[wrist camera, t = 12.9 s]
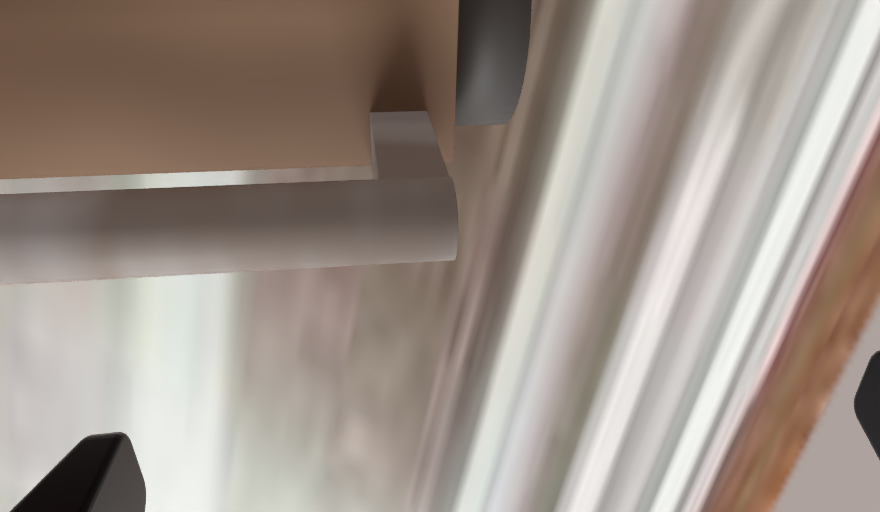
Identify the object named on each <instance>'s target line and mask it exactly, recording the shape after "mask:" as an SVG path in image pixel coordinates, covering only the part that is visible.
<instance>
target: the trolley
mask: <svg viewBox="0 0 880 512" xmlns="http://www.w3.org/2000/svg"><path fill="white" fill-rule="evenodd" d="M531 1H532V0H0V179H19V178H45V177H72V176H99V175H125V174H152V173H179V172H205V171H232V170H259V169H285V168H312V167H339V166H365V165H372V172H373V180H349V181H325V182H300V183H275V184H250V185H225V186H200V187H175V188H150V189H125V190H100V191H75V192H50V193H25V194H0V285H10V284H29V283H47V282H65V281H83V280H101V279H119V278H138V277H156V276H174V275H192V274H210V273H229V272H247V271H265V270H283V269H301V268H320V267H338V266H356V265H374V264H392V263H411V262H429V261H447V260H455V258H456V255H457V248H458V211H457V200H456V193H455V187H454V183H453V180H452V178H451V177H450V176H449V175H448V172H447V169H446V166H445V162H453V161H454V132H455V126H464V125H497V124H505V123H507V122H508V121H509V120H510V119H511V117H512V115H513V114H514V111H515V109H516V107H517V104H518V100H519V97H520V93H521V89H522V85H523V80H524V75H525V69H526V62H527V55H528V46H529V37H530V23H531Z"/></svg>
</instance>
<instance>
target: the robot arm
mask: <svg viewBox="0 0 880 512" xmlns="http://www.w3.org/2000/svg"><path fill="white" fill-rule="evenodd" d="M854 410H855V413H856V416H857V419H858V421H859V422H860V424H861V426H862V428H863V430H864V432H865V434H866V436H867V437H868V439H869V441H870V443H871V445H872V446H873V448H874V450H875V452H876V454H877V456H878V458H879V460H880V351H877V352H876V353H875V354H874V355H873V356H872V357H871V359H870V360H869V363H868V365H867V368H866V370H865V373H864V375H863V377H862V380H861V382H860V385H859V387H858V390H857V392H856V395H855V398H854ZM145 505H146V488H145V482H144V478H143V475H142V473H141V470H140V467H139V464H138V461H137V458H136V455H135V452H134V449H133V446H132V443H131V441H130V439H129V437H128V436H127V435H126V434H125V433H122V432H114V433H105V434H96V435H90V436H87V437H85V438H84V439H82V440H81V441H80V442H79V443H78V444H77V445H76V446H75V447H74V448H73V449H72V450H71V451H70V452H69V453H68V454H67V455H66V456H65V457H64V458H63V459H62V460H61V461H60V462H59V463H58V464H57V465H56V466H55V467H54V468H53V469H52V470H51V471H50V472H49V473H48V474H47V475H46V476H45V477H44V478H43V479H42V480H41V481H40V482H39V483H38V484H37V485H36V486H35V487H34V488H33V489H32V490H31V491H30V492H29V493H28V494H27V495H26V496H25V497H24V498H23V499H22V500H21V501H20V502H19V503H18V504H17V505H16V506H15V507H14V508H13V509H12V510H11V511H10V512H145Z"/></svg>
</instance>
